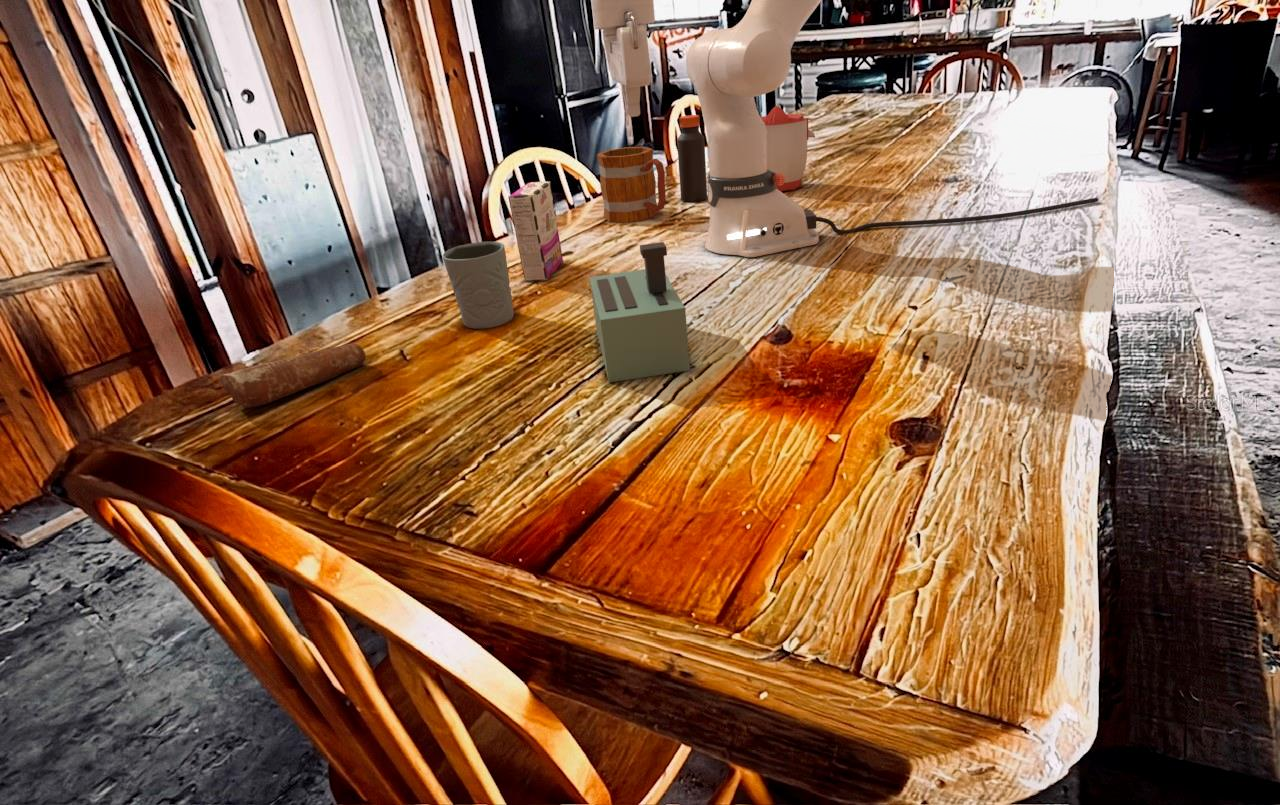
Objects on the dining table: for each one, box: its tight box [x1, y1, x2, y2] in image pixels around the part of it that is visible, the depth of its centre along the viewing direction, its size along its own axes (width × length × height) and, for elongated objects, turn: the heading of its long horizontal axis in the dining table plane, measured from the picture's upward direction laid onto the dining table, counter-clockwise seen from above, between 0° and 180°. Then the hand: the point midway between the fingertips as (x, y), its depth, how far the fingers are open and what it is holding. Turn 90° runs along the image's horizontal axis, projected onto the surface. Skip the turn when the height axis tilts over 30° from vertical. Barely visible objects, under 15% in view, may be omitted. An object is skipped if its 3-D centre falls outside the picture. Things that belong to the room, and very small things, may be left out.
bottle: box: [676, 114, 708, 203], centre depth 177 cm, size 7×7×20 cm
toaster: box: [589, 268, 691, 383], centre depth 100 cm, size 11×18×9 cm, turn 8°
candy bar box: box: [508, 181, 564, 282], centre depth 135 cm, size 11×5×16 cm, turn 168°
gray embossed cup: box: [442, 241, 515, 330], centre depth 116 cm, size 10×10×12 cm
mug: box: [596, 146, 667, 224], centre depth 168 cm, size 20×14×15 cm
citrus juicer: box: [760, 105, 816, 192], centre depth 179 cm, size 16×17×20 cm
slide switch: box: [639, 241, 668, 294], centre depth 95 cm, size 3×2×6 cm
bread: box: [218, 342, 367, 409], centre depth 100 cm, size 6×19×6 cm, turn 132°
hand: (633, 115), depth 108 cm, fingers closed
